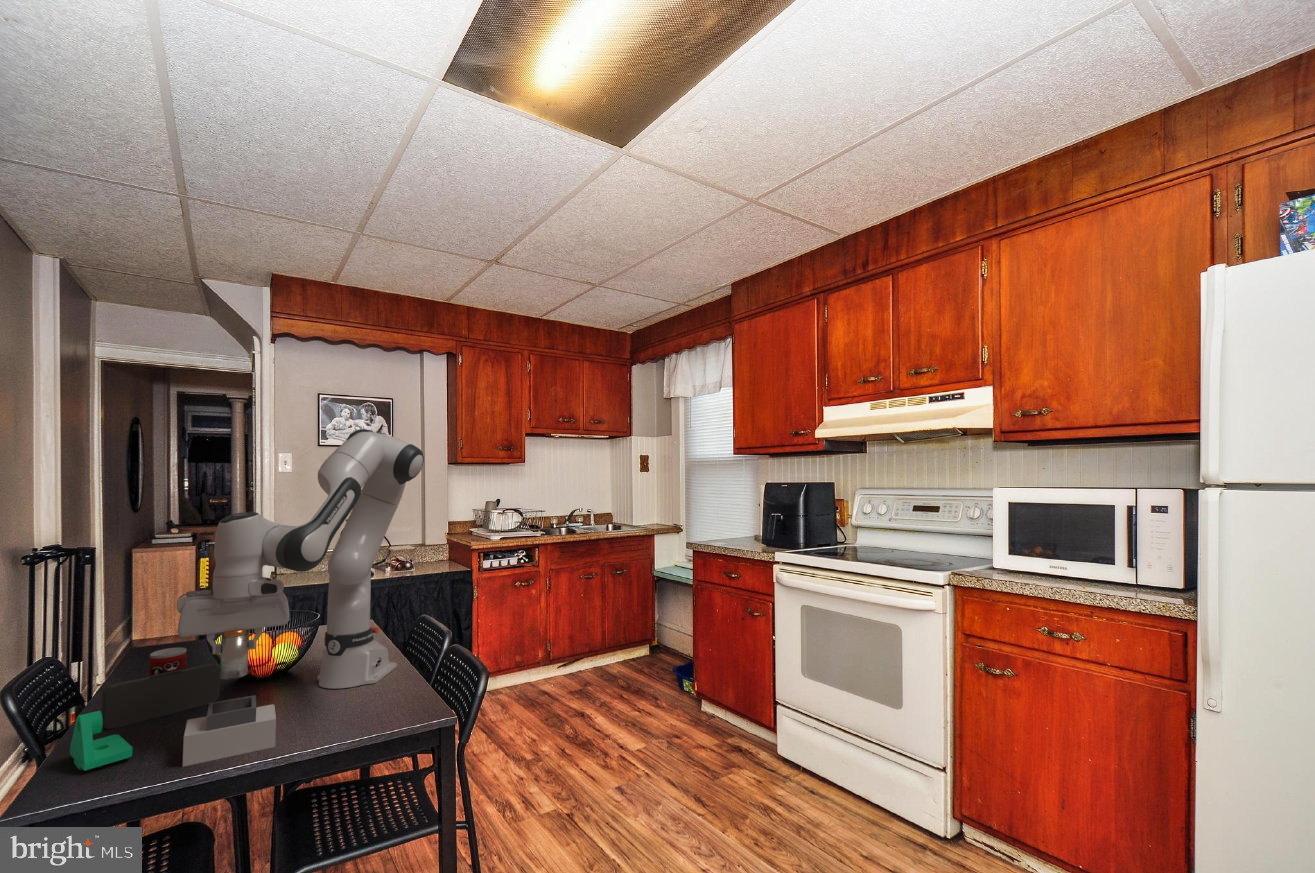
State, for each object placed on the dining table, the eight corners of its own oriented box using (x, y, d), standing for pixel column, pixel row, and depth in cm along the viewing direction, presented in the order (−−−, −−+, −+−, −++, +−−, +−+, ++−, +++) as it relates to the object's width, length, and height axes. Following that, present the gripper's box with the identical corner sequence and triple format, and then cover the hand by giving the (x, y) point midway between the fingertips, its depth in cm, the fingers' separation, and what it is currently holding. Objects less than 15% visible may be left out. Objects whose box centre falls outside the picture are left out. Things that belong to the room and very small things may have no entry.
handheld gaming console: (215, 699, 161) (217, 660, 162) (219, 702, 160) (221, 662, 160) (99, 729, 143) (101, 685, 144) (102, 732, 142) (104, 687, 142)
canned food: (140, 698, 162) (142, 656, 162) (163, 687, 170) (165, 647, 170) (170, 698, 162) (171, 655, 162) (192, 687, 170) (193, 647, 170)
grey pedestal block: (182, 766, 125) (184, 721, 125) (186, 748, 133) (188, 705, 134) (275, 746, 134) (276, 704, 134) (273, 730, 142) (274, 690, 143)
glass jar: (233, 670, 137) (235, 625, 138) (253, 672, 136) (254, 626, 137) (213, 678, 132) (215, 631, 133) (233, 679, 131) (235, 632, 132)
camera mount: (133, 761, 128) (135, 710, 128) (83, 776, 122) (86, 723, 122) (117, 745, 135) (119, 697, 135) (69, 759, 129) (72, 708, 129)
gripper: (176, 594, 127) (173, 663, 126) (291, 584, 138) (289, 647, 138) (178, 589, 132) (175, 655, 131) (289, 580, 144) (287, 640, 143)
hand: (234, 650), depth 135 cm, fingers closed on glass jar, 5 cm apart
